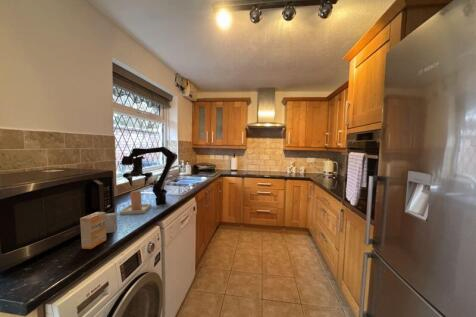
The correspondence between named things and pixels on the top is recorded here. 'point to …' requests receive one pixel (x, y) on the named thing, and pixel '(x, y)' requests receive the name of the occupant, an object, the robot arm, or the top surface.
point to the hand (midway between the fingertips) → (138, 186)
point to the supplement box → (93, 230)
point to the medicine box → (111, 222)
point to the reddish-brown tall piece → (136, 200)
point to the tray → (129, 210)
